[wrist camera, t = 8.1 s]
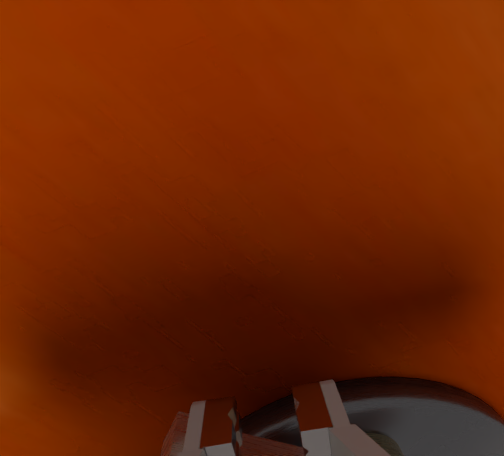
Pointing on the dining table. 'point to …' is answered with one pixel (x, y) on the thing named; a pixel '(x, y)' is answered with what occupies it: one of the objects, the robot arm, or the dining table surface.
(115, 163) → the dining table surface
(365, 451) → the robot arm
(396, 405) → the levelling plate
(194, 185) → the dining table surface
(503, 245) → the dining table surface
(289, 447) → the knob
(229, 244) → the dining table surface
